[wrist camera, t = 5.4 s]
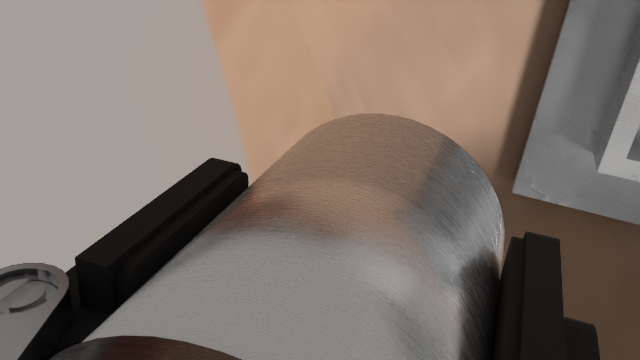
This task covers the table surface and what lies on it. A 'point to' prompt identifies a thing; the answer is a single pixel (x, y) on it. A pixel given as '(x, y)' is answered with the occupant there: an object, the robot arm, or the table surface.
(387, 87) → the table surface
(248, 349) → the grey jar with lid
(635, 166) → the collar
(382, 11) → the table surface
